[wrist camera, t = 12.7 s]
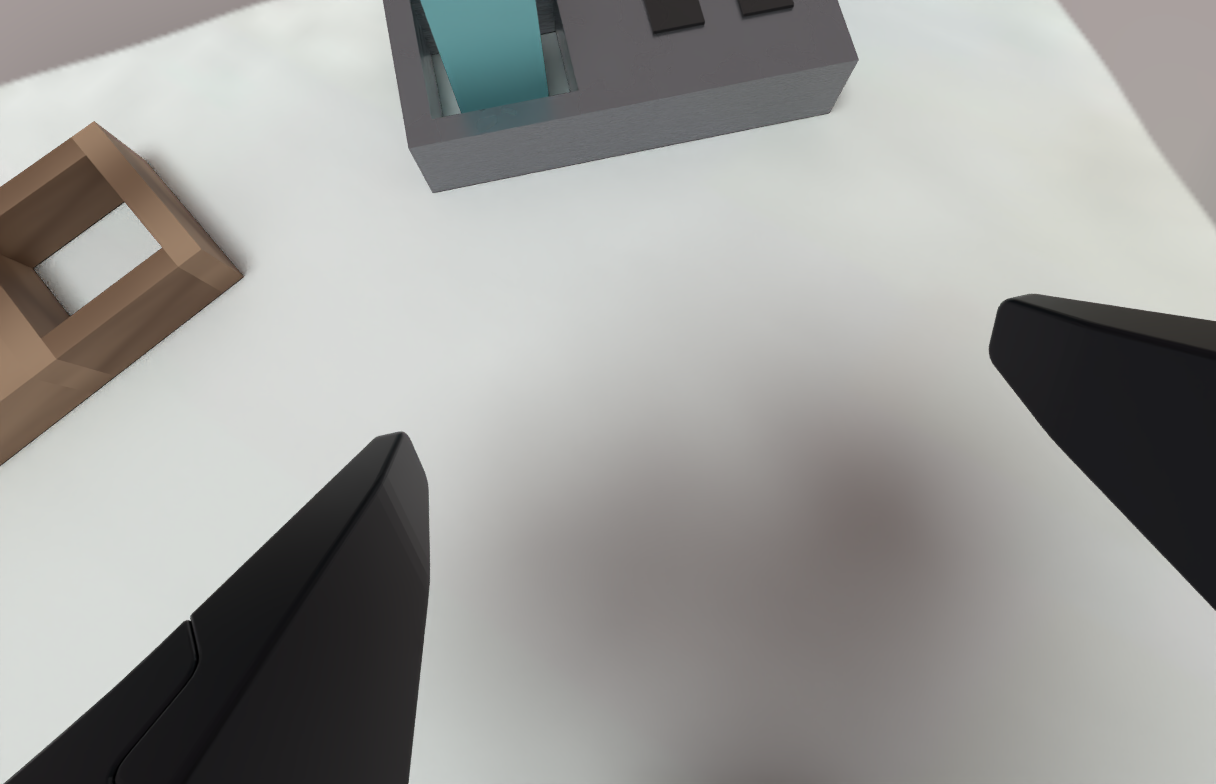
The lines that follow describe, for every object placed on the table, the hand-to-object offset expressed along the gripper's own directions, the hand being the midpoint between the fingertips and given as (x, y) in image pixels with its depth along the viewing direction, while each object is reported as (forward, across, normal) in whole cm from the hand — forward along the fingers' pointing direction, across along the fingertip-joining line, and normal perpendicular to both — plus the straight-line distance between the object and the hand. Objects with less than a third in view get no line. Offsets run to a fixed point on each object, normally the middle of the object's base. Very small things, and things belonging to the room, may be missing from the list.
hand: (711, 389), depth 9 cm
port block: (+21, -2, -2) cm, 22 cm away
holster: (+17, +22, +3) cm, 28 cm away
